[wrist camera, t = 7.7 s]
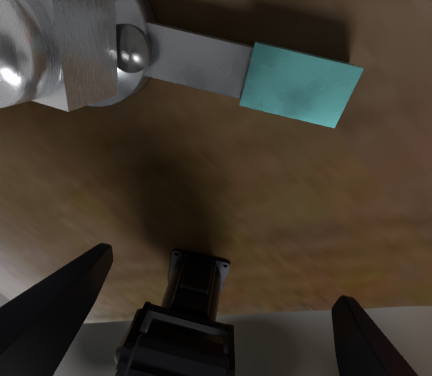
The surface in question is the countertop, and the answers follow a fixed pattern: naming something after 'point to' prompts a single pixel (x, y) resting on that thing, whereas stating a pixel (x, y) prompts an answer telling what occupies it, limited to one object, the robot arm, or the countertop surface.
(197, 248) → the countertop surface
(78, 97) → the cylinder with square end
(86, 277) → the robot arm
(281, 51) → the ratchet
